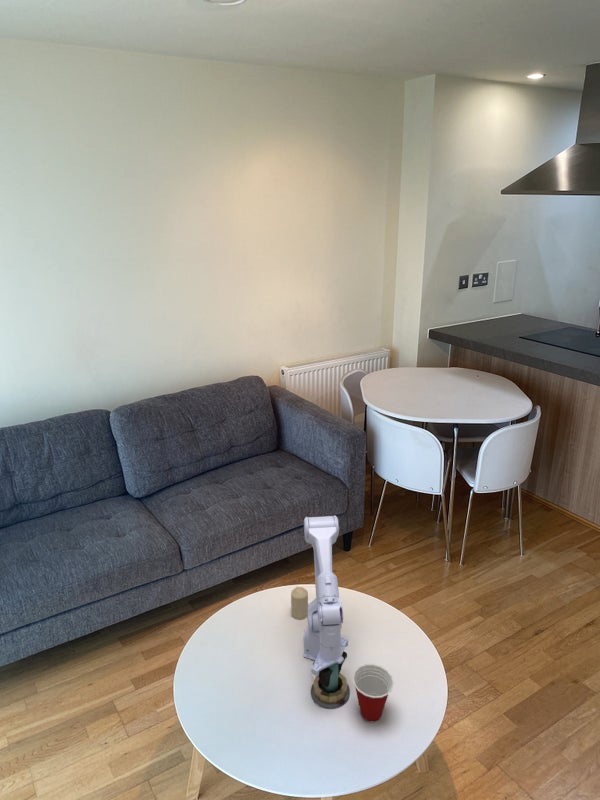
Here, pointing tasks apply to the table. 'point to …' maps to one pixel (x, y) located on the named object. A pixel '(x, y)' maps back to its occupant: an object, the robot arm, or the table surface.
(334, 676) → the peg
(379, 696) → the plastic cup
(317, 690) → the ring holder
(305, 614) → the candle
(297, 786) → the table surface
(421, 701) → the table surface
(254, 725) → the table surface
